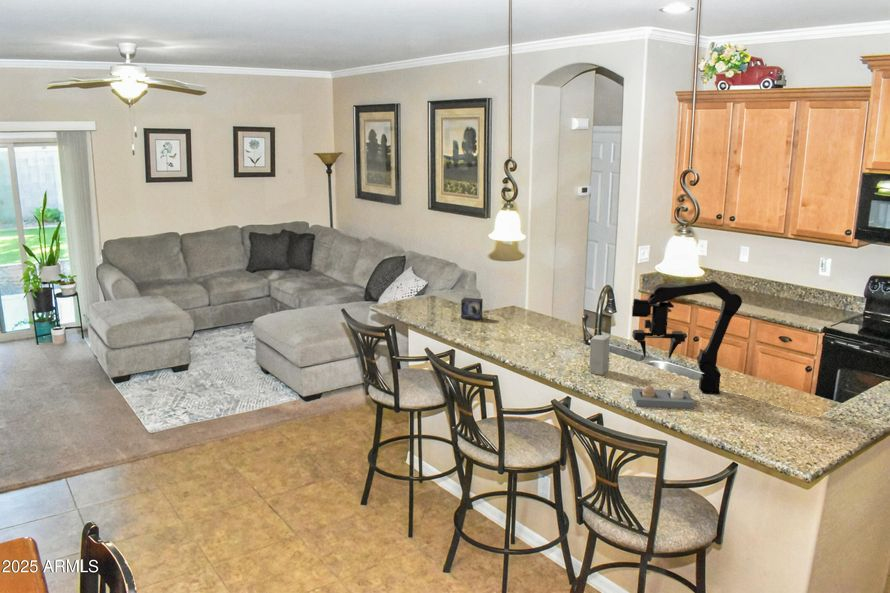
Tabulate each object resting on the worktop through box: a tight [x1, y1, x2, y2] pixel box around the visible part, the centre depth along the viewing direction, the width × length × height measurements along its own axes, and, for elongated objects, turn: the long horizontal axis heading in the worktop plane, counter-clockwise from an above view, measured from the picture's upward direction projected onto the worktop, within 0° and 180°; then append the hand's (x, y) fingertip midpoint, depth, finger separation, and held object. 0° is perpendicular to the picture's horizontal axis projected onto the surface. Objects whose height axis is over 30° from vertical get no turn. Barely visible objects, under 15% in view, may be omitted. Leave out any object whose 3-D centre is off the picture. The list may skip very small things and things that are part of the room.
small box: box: [460, 297, 483, 321], centre depth 376 cm, size 11×6×10 cm, turn 73°
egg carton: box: [631, 385, 695, 410], centre depth 256 cm, size 20×12×6 cm, turn 83°
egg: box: [670, 386, 684, 399], centre depth 255 cm, size 4×4×6 cm
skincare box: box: [588, 334, 611, 376], centre depth 288 cm, size 8×6×15 cm
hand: (656, 357), depth 269 cm, fingers open, 9 cm apart
